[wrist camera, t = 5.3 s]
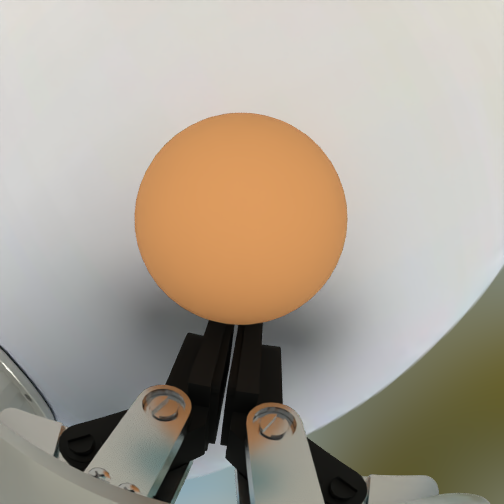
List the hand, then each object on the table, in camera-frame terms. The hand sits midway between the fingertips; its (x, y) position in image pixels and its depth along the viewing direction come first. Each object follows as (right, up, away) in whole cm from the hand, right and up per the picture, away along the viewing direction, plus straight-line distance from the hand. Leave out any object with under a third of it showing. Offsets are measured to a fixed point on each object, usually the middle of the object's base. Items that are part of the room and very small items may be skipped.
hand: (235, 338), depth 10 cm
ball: (0, +4, -2) cm, 5 cm away
